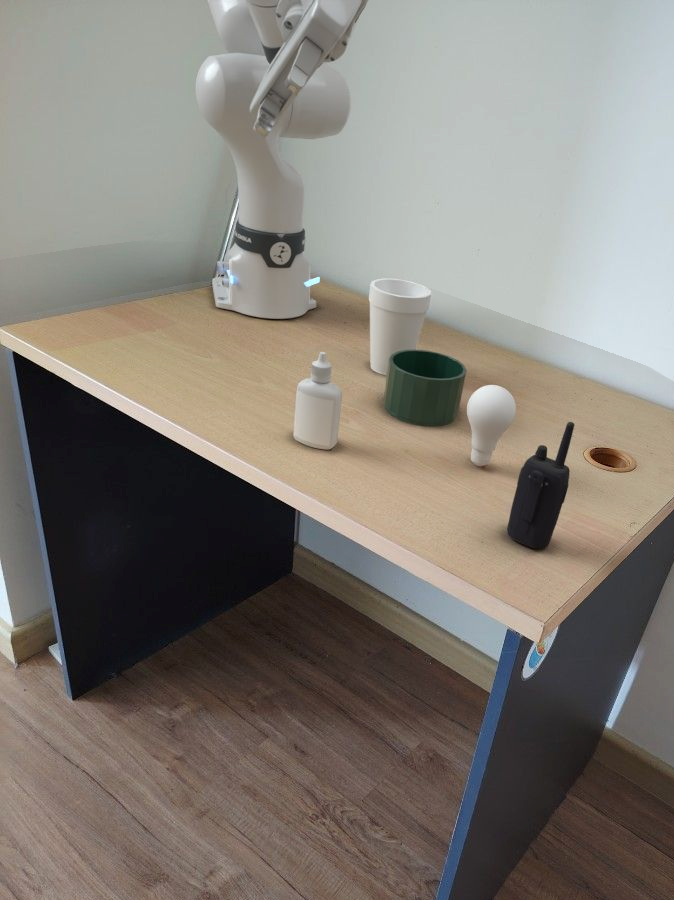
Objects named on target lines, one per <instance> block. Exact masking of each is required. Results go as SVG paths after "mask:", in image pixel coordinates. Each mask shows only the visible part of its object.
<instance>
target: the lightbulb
mask: <svg viewBox="0 0 674 900" xmlns="http://www.w3.org/2000/svg"><path fill="white" fill-rule="evenodd" d="M516 414H517V405H516V401H515V398H514V397H513V395H512V393H511V392H510V391H508V389H506V388H504V387H503V386H500V385H496V384H488V385H487V384H486V385H484V386H481V387H479V388H478V389H476V390H475V391H474V392H473V393H472V394H471V395H470V397H469V400H468V401H467V404H466V415H467V419H468V423H469V425H470V429H471V442H470V444H471V453H470V461H471V462H472V463H473V464H474V465H475V466H476V467H480V468H481V467H483V466H487V465H489V463H490V461H491V459H492V455H493V453H494V451H495V450H496V447H497V444H498V441H499V440H500V438H501V437H502V435H503V434H504V433H505V432H506V430H508V429H509V428H510V426H511V425H512V424H513V422H514V420H515V418H516Z"/></svg>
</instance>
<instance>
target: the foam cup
mask: <svg viewBox="0 0 674 900" xmlns="http://www.w3.org/2000/svg"><path fill="white" fill-rule="evenodd" d="M431 297H432V290H431V289H429V288H428V287H427V286H426V285H423V284H420V283H417V282H415V281H410V280H406V279H400V278H391V277H389V278H387V277H386V278H377V279H374V280H371V281H370V285H369V291H368V301H369V354H370V355H369V357H370V358H369V360H370V361H369V363H370V369H371V370H372V372H373V371H374V372H375V373H377V374H379V375H383V376H387V370H388V363H389V358H390V356H391V355H392V354H394V353H395V352H398V351H403V350H417V346H418V342H419V339H420V336H421V332H422V329H423V326H424V323H425V319H426V315H427V312H428V311H429V309H430V303H431Z"/></svg>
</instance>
